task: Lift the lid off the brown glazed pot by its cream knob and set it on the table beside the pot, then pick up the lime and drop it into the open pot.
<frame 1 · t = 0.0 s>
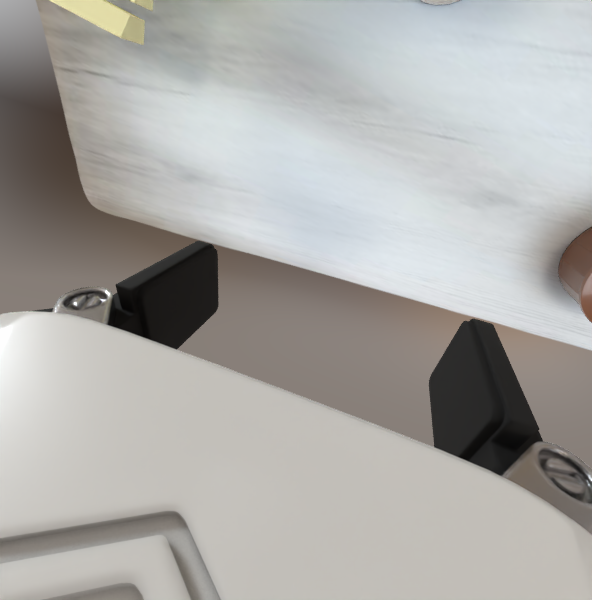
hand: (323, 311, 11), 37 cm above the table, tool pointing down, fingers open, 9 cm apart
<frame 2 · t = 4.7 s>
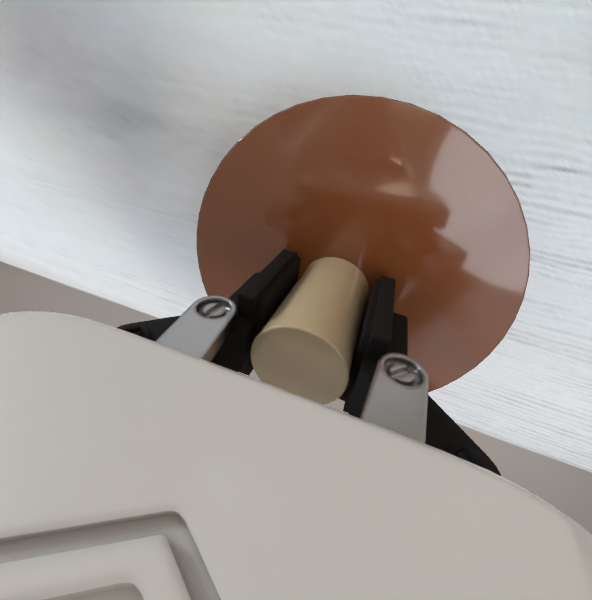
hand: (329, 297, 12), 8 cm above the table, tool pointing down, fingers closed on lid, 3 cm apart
lid: (336, 282, 13), point 7 cm above the table, touching gripper, pot
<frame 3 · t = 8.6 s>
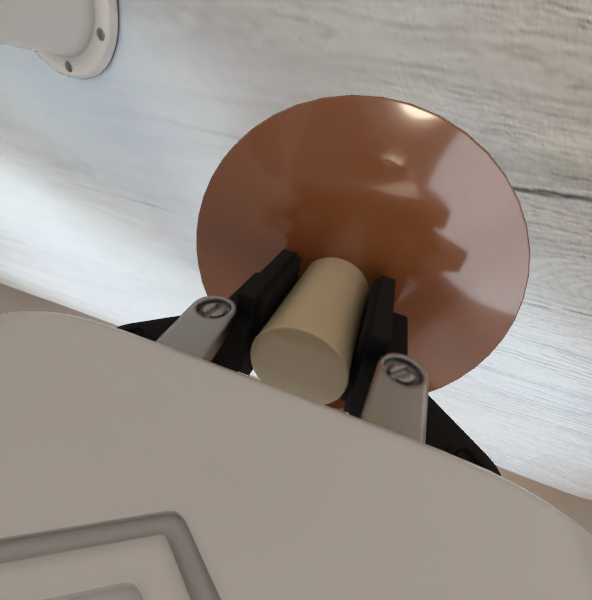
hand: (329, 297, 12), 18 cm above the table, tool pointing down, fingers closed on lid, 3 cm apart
lid: (336, 283, 13), point 17 cm above the table, touching gripper
when the fingers open (2 cm above the table, at t = 12.3 s): lid stays where it is, point 1 cm above the table.
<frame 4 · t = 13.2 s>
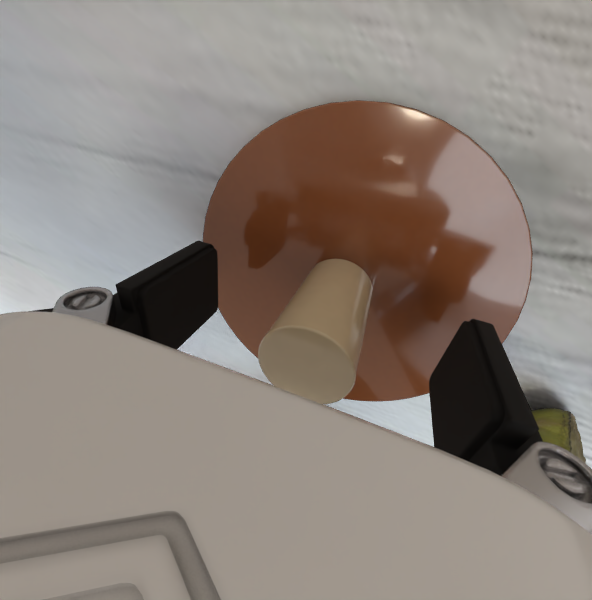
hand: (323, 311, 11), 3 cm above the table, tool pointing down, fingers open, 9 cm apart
lime: (532, 422, 14), on the table
lid: (340, 284, 13), point 1 cm above the table
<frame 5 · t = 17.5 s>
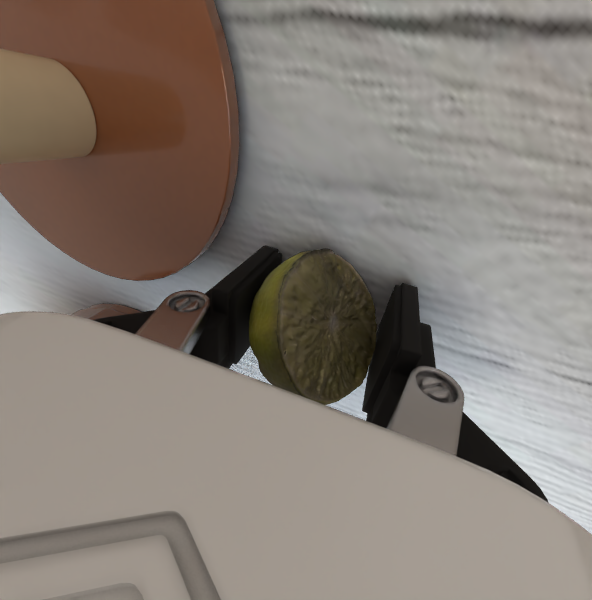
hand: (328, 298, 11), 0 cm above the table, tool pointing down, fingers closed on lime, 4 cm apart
pot: (150, 379, 20), on the table
lime: (332, 292, 12), on the table, touching gripper
lid: (78, 112, 11), point 1 cm above the table
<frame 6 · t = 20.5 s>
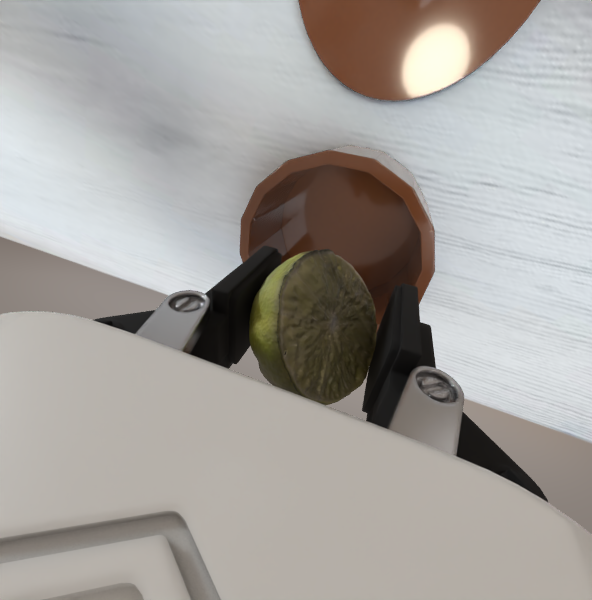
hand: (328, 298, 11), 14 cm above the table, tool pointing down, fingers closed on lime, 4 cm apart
pot: (346, 230, 24), on the table
lime: (333, 293, 12), point 13 cm above the table, touching gripper
when the fingers open (6 cm above the table, at t = 24.0 s): lime stays where it is, resting on pot.
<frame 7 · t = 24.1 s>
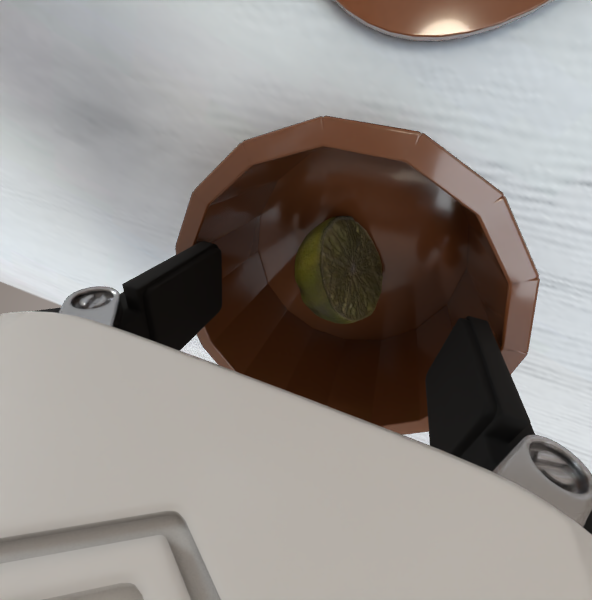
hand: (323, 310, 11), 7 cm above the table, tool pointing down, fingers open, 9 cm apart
pot: (352, 254, 16), on the table
lime: (349, 254, 16), resting on pot
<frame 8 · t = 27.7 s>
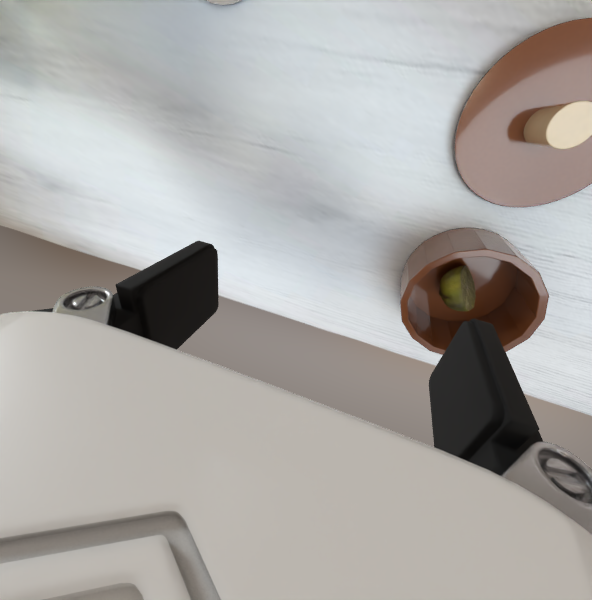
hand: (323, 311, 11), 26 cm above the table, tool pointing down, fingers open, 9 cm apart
pot: (457, 279, 34), on the table
lime: (457, 279, 34), resting on pot
lid: (542, 126, 25), point 1 cm above the table
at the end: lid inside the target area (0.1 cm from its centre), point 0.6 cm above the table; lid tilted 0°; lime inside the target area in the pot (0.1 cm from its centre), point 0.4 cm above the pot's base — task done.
